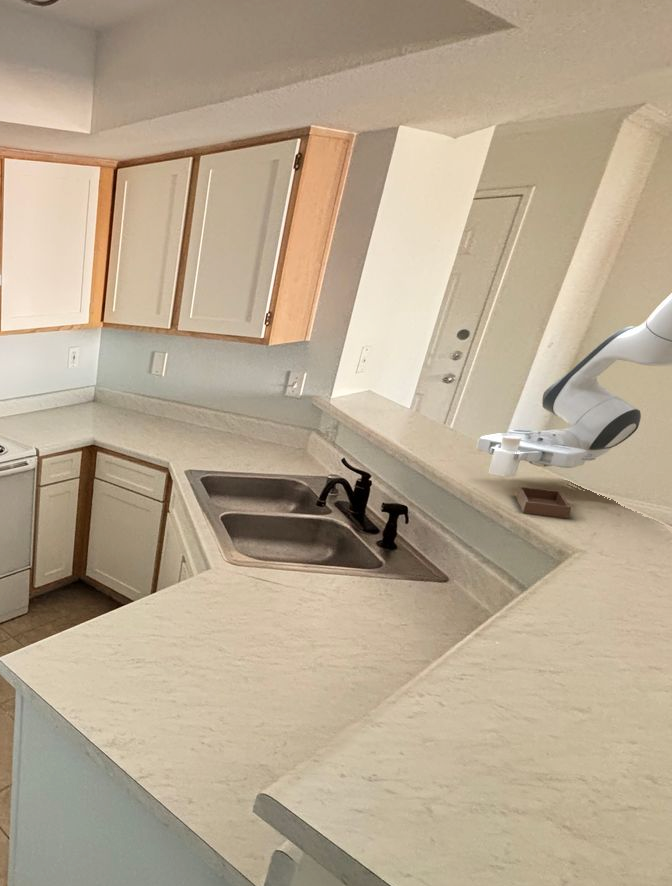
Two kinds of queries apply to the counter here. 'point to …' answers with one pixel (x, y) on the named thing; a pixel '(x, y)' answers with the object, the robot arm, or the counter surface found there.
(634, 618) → the counter surface
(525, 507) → the tray
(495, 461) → the pepper shaker
